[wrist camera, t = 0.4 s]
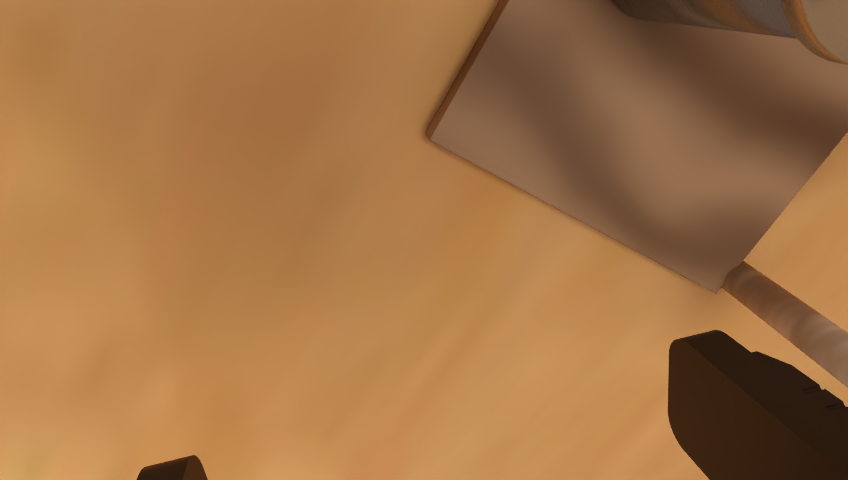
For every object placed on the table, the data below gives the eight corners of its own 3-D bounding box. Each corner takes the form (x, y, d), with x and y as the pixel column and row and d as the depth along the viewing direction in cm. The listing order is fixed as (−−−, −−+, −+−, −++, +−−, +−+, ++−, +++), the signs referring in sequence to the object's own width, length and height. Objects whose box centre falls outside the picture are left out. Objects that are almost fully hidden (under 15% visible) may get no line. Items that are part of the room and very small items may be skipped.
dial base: (665, -293, 24) (1169, -718, 9) (968, -5, 30) (1527, 7, 16) (425, 132, 29) (507, 274, 15) (724, 294, 36) (975, 496, 22)
